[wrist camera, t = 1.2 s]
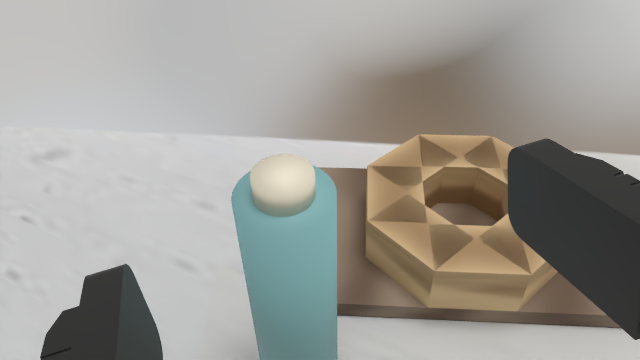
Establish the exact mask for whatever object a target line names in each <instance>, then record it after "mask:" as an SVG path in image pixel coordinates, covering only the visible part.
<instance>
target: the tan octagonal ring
mask: <svg viewBox="0 0 640 360" xmlns="http://www.w3.org/2000/svg"><path fill="white" fill-rule="evenodd" d="M513 148H514V147H512V146H510V145H508V144H506V143H504V142H502V141H500V140H498V139H496V138H494V137H492V136H464V135H417V136H415V137H414V138H412V139H410V140H409V141H407V142H405V143H404V144H402V145H401V146H399V147H397V148H396V149H394V150H392V151H391V152H389V153H387V154H386V155H384V156H383V157H381V158H379V159H378V160H376V161H374V162H373V163H371V164H369V165H368V166H367V187H366V256H365V257H366V258H367V259H368V260H369V261H371V262H372V263H373V264H374V265H376V266H377V267H378V268H379V269H381V270H382V271H383V272H384V273H386V274H387V275H388V276H389V277H390V278H392V279H393V280H394V281H395V282H397V283H398V284H399V285H400V286H402V287H403V288H404V289H405V290H407V291H408V292H409V293H410V294H412V295H413V296H414V297H415V298H416V299H418V300H419V301H420V302H421V303H423V304H424V305H425V306H426V307H428V308H449V309H472V310H495V311H519V310H520V309H521V308H522V307H523V306H524V305H525V304H526V303H527V302H528V301H529V300H530V299H531V298H532V297H533V296H534V295H535V294H536V293H537V292H538V291H539V290H540V289H541V288H542V287H543V286H544V285H545V284H546V283H547V282H548V281H549V280H550V279H551V278H552V277H553V276H554V275H555V274H556V273H557V272H558V271H556V270H555V269H554V268H553V267H552V266H551V265H550V264H549V263H547V262H546V261H545V260H544V259H543V258H542V257H541V256H539V255H538V254H537V253H536V252H535V251H534V250H533V249H532V248H530V247H529V246H528V245H527V244H526V243H525V242H524V241H522V240H521V239H520V238H519V237H518V235H517V234H516V233H515V231H514V229H513V227H512V225H511V223H510V220H509V216H508V155H509V152H510V151H511V150H512V149H513ZM438 203H455V204H471V205H473V206H474V207H476V208H477V209H479V210H481V211H482V212H484V213H485V214H487V215H489V216H490V217H492V218H493V219H495V220H497V223H496V224H494V225H493V226H473V225H454V224H452V223H451V222H449V221H448V220H446V219H445V218H443V217H442V216H440V215H439V214H437V213H436V212H434V211H433V210H431V208H432V207H433V206H435V205H436V204H438Z"/></svg>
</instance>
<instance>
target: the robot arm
mask: <svg viewBox="0 0 640 360" xmlns="http://www.w3.org/2000/svg"><path fill="white" fill-rule="evenodd" d="M508 216H509V220H510V223H511V225H512V227H513V229H514V231H515V233H516V234H517V235H518V237H519V238H520V239H521V240H522V241H524V242H525V243H526V244H527V245H528V246H529V247H530V248H532V249H533V250H534V251H535V252H536V253H537V254H538V255H539V256H541V257H542V258H543V259H544V260H545V261H546V262H547V263H549V264H550V265H551V266H552V267H553V268H554V269H555V270H556V271H558V272H559V273H560V274H561V275H562V276H563V277H564V278H566V279H567V280H568V281H569V282H570V283H571V284H572V285H573V286H575V287H576V288H577V289H578V290H579V291H580V292H581V293H583V294H584V295H585V296H586V297H587V298H588V299H589V300H590V301H592V302H593V303H594V304H595V305H596V306H597V307H598V308H600V309H601V310H602V311H603V312H604V313H605V314H606V315H607V316H609V317H610V318H611V319H612V320H613V321H614V322H615V323H617V324H618V325H619V326H620V327H621V328H622V329H623V330H624V331H626V332H627V333H628V334H629V335H630V336H631V337H632V338H634V339H635V340H637V339H640V181H639V180H637V179H636V178H634V177H632V176H630V175H628V174H625V175H624V174H623V171H621V170H619V169H617V168H616V167H614V166H612V165H610V164H608V163H606V162H605V161H603V160H599V159H596V158H592V157H588V156H584V155H581V154H577V153H576V154H575V153H573V152H572V151H570V150H568V149H566V148H565V147H563V146H561V145H559V144H558V143H556V142H554V141H552V140H550V139H543V140H539V141H536V142H533V143H529V144H526V145H522V146H519V147H516V148H513V149H512V150H511V151H510V152H509V155H508ZM40 358H41V360H163V353H162V346H161V341H160V337H159V333H158V330H157V327H156V324H155V322H154V319H153V317H152V315H151V313H150V310H149V308H148V306H147V303H146V301H145V299H144V297H143V294H142V292H141V290H140V287H139V285H138V283H137V281H136V278H135V276H134V274H133V272H132V270H131V268H130V267H129V266H128V265H127V264H124V265H121V266H118V267H114V268H111V269H108V270H104V271H101V272H98V273H94V274H91V275H88V276H86V277H85V279H84V284H83V289H82V294H81V300H80V305H79V306H78V307H75V308H71V309H68V310H65V311H63V312H62V313H61V314H60V316H59V317H58V319H57V320H56V321H55V323H54V324H53V325H52V327H51V328H50V330H49V331H48V332H47V334H46V337H45V341H44V345H43V349H42V352H41V356H40Z"/></svg>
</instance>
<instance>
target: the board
mask: <svg viewBox="0 0 640 360" xmlns="http://www.w3.org/2000/svg"><path fill="white" fill-rule="evenodd" d="M317 168H318V167H317ZM319 169H321V170H322V171H324V172H325V173H326V174H328V175H329V177H330V178H331V179H332V180H333V182H334V184H335V186H336V190H337V315H349V316H372V317H394V318H416V319H438V320H461V321H483V322H505V323H527V324H549V325H572V326H594V327H616V328H621V327H620V326H619V325H618V324H617V323H615V322H614V321H613V320H612V319H611V318H610V317H609V316H607V315H606V314H605V313H604V312H603V311H602V310H601V309H600V308H598V307H597V306H596V305H595V304H594V303H593V302H592V301H590V300H589V299H588V298H587V297H586V296H585V295H584V294H583V293H581V292H580V291H579V290H578V289H577V288H576V287H575V286H573V285H572V284H571V283H570V282H569V281H568V280H567V279H566V278H564V277H563V276H562V275H561V274H560V273H559V272H557V273H556V274H555V275H554V276H553V277H552V278H551V279H550V280H549V281H548V282H547V283H546V284H545V285H544V286H543V287H542V288H541V289H540V290H539V291H538V292H537V293H536V294H535V295H534V296H533V297H532V298H531V299H530V300H529V301H528V302H527V303H526V304H525V305H524V306H523V307H522V308H521V309H520V310H519V311H495V310H472V309H449V308H428V307H426V306H425V305H424V304H423V303H421V302H420V301H419V300H418V299H416V298H415V297H414V296H413V295H412V294H410V293H409V292H408V291H407V290H405V289H404V288H403V287H402V286H400V285H399V284H398V283H397V282H395V281H394V280H393V279H392V278H390V277H389V276H388V275H387V274H386V273H384V272H383V271H382V270H381V269H379V268H378V267H377V266H376V265H374V264H373V263H372V262H371V261H369V260H368V259H367V258H366V257H365V256H366V187H367V169H356V168H319ZM431 210H433V211H434V212H436V213H437V214H439V215H440V216H442V217H443V218H445V219H446V220H448V221H449V222H451V223H452V224H454V225H473V226H493V225H494V224H496V223H497V220H495V219H493V218H492V217H490V216H489V215H487V214H485V213H484V212H482V211H481V210H479V209H477V208H476V207H474V206H473V205H471V204H455V203H438V204H436V205H435V206H433V207H432V208H431Z"/></svg>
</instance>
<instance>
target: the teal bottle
mask: <svg viewBox="0 0 640 360" xmlns="http://www.w3.org/2000/svg"><path fill="white" fill-rule="evenodd" d="M232 208H233V213H234V219H235V224H236V229H237V235H238V240H239V246H240V251H241V257H242V262H243V268H244V273H245V279H246V284H247V290H248V295H249V301H250V306H251V312H252V317H253V323H254V328H255V334H256V339H257V345H258V350H259V356H260V360H337V190H336V186H335V184H334V182H333V180H332V179H331V178H330V177H329V175H328V174H326V173H325V172H324V171H322V170H321V169H319V168H317V167H315V166H313V165H312V164H311V163H310V162H309V161H307V160H306V159H304V158H302V157H300V156H296V155H291V154H279V155H273V156H270V157H267V158H265V159H263V160H261V161H259V162H258V163H257V164H256V165H255V166H254V167H253V168H252V170H251V171H250V172H248V173H247V174H246V175H244V176H243V177H242V178H241V179H240V180H239V182H238V183H237V184H236V186H235V188H234V190H233V192H232Z"/></svg>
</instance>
